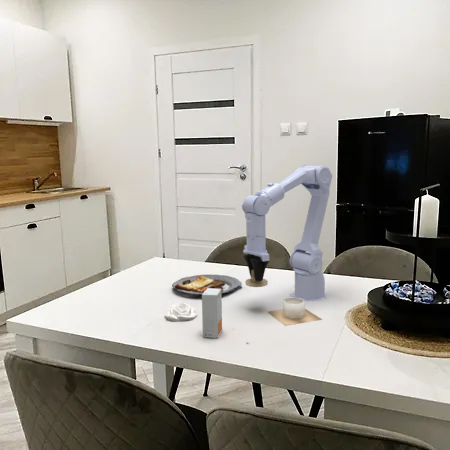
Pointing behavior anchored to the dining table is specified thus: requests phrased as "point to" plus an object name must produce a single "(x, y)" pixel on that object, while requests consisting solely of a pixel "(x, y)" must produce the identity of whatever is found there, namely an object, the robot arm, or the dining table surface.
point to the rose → (180, 312)
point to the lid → (254, 283)
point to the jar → (294, 308)
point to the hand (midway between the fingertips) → (256, 279)
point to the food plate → (205, 283)
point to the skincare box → (212, 312)
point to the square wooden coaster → (279, 316)
